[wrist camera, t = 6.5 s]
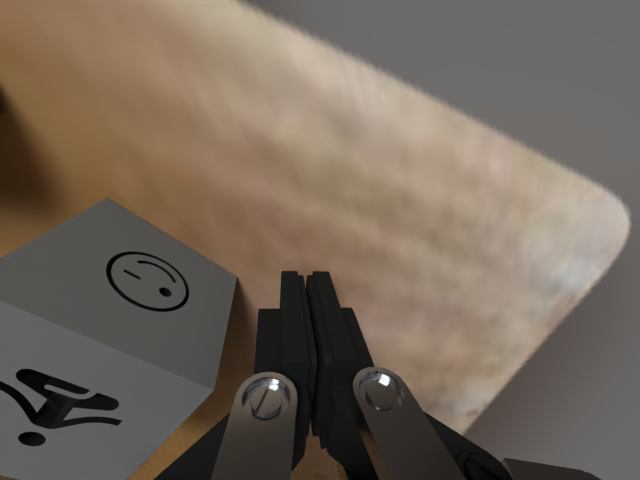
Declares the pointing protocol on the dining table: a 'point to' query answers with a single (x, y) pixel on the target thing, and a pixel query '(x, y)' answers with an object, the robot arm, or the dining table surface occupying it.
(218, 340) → the dice cube
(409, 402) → the robot arm
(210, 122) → the dining table surface
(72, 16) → the dining table surface
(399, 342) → the dining table surface
